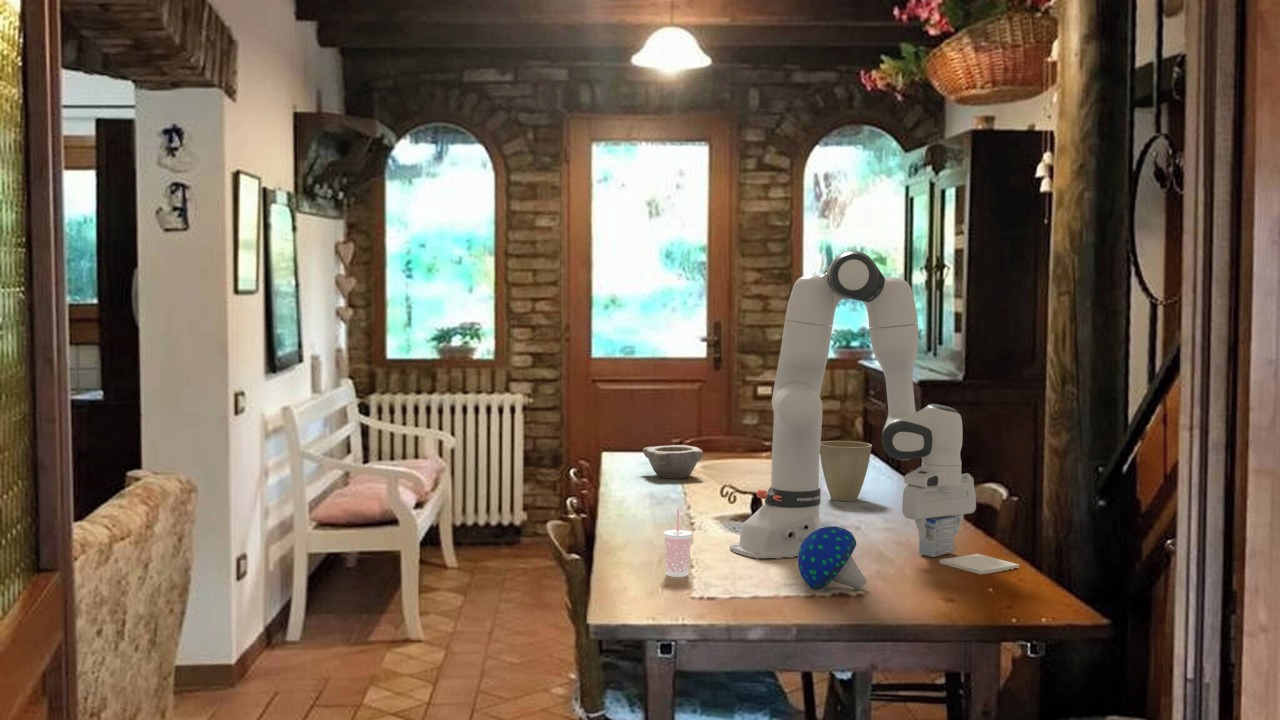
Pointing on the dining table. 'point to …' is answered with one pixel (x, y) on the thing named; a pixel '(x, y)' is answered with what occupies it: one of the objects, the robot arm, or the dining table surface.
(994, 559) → the ceramic tile
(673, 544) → the beverage cup
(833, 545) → the mushroom
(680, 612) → the dining table surface
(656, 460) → the mortar
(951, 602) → the dining table surface
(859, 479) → the plant pot
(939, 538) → the medicine box
